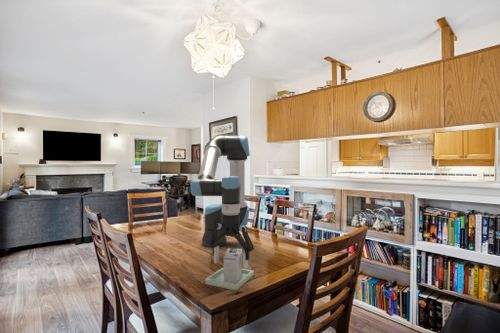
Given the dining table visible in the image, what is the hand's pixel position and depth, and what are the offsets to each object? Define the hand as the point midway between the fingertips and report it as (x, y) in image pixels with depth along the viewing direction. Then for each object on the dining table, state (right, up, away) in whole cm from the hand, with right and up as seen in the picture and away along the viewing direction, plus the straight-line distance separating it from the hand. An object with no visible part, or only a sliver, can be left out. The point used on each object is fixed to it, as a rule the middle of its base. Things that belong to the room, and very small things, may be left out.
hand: (230, 264), depth 114 cm
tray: (0, -6, 0) cm, 6 cm away
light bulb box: (+1, -6, 0) cm, 6 cm away
